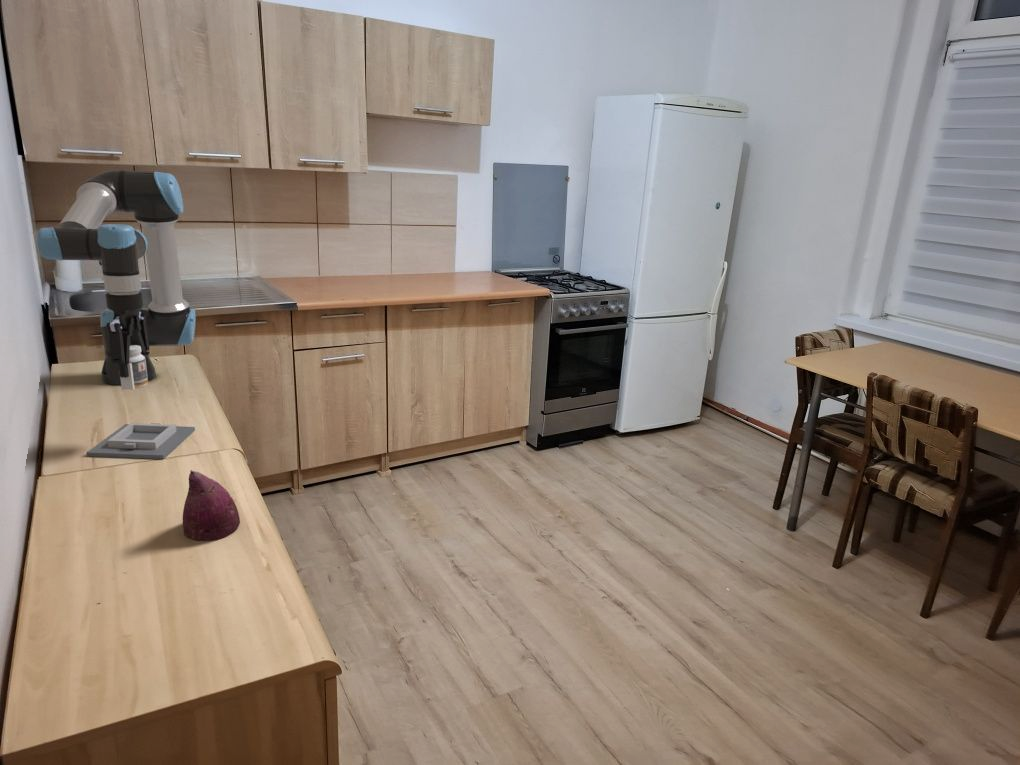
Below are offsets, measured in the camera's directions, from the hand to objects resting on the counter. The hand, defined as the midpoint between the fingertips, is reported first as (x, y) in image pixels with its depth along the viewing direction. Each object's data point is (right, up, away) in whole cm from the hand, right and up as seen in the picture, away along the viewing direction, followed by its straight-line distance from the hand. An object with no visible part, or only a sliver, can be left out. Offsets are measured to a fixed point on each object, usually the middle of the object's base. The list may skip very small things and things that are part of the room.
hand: (135, 384), depth 163 cm
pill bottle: (0, -1, 0) cm, 1 cm away
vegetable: (+33, -29, -31) cm, 53 cm away
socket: (0, -15, +5) cm, 15 cm away
